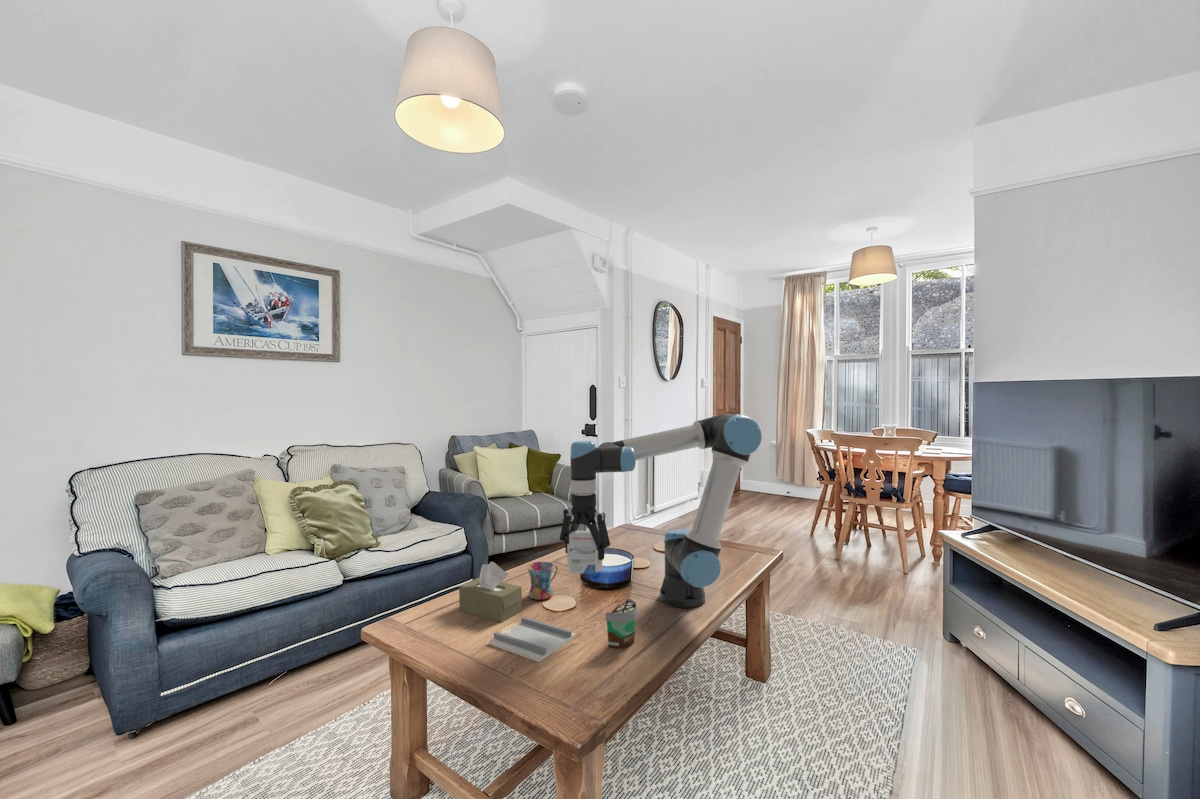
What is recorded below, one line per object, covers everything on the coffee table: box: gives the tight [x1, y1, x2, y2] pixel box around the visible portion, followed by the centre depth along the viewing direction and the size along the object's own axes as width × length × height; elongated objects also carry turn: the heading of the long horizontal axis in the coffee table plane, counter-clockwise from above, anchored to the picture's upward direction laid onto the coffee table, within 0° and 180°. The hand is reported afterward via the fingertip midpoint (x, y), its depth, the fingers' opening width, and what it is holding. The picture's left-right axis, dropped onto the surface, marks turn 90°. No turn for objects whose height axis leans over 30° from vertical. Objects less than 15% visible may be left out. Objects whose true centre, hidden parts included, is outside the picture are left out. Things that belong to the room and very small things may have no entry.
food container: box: [605, 597, 640, 649], centre depth 142 cm, size 12×6×10 cm, turn 148°
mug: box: [526, 561, 559, 601], centre depth 176 cm, size 12×9×11 cm
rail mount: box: [488, 616, 576, 663], centre depth 144 cm, size 18×16×2 cm
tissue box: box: [458, 561, 523, 623], centre depth 164 cm, size 19×10×16 cm, turn 58°
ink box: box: [569, 530, 599, 575], centre depth 153 cm, size 8×5×12 cm, turn 84°
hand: (584, 567), depth 153 cm, fingers closed on ink box, 9 cm apart
